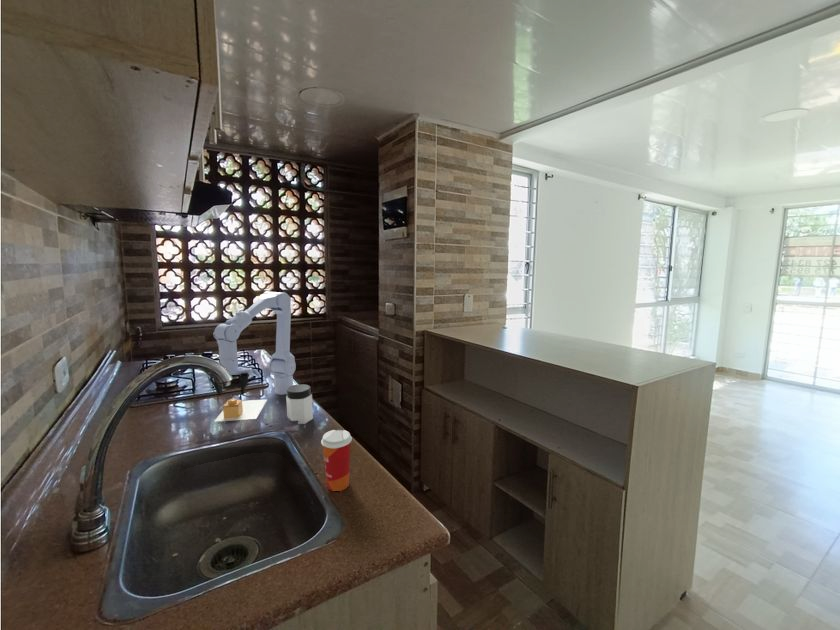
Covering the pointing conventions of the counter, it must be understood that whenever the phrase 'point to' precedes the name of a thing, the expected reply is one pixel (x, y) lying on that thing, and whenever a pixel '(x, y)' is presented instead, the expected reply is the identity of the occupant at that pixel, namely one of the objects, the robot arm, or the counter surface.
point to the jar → (299, 403)
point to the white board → (246, 411)
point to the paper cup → (337, 458)
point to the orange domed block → (232, 408)
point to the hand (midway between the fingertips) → (231, 394)
